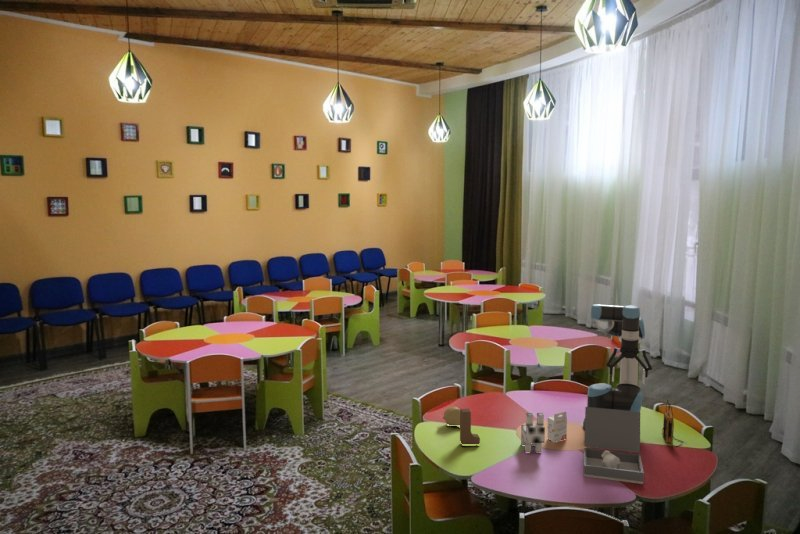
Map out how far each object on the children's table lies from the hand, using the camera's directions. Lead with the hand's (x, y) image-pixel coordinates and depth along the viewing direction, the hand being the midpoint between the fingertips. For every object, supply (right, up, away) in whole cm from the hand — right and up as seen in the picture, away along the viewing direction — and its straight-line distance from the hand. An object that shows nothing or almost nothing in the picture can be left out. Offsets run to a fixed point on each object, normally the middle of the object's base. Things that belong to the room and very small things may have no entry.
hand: (628, 382), depth 278 cm
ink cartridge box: (-30, -32, +14) cm, 46 cm away
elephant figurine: (-15, -35, -18) cm, 42 cm away
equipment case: (-14, -36, -18) cm, 42 cm away
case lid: (-11, -20, -8) cm, 24 cm away
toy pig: (-80, -30, +32) cm, 91 cm away
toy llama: (-45, -33, +3) cm, 56 cm away
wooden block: (-74, -33, +9) cm, 82 cm away
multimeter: (+28, -31, +12) cm, 43 cm away
